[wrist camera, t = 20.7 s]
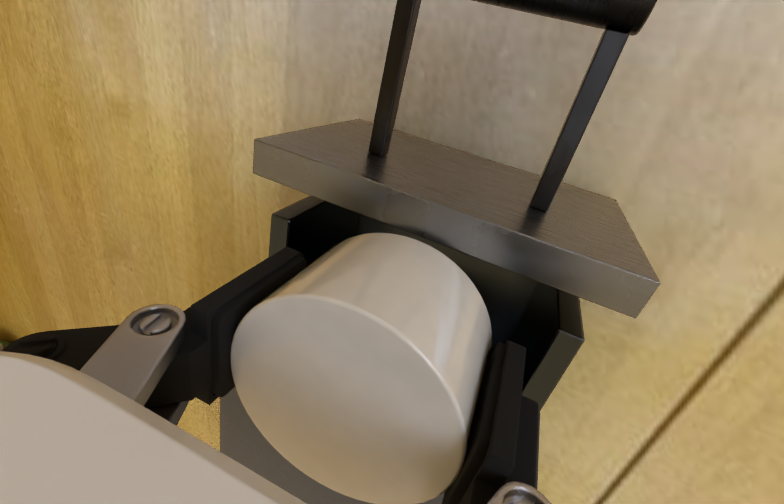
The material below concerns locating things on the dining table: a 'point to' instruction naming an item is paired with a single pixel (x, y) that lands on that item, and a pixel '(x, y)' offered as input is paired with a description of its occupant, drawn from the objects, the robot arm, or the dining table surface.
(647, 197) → the dining table surface
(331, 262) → the white cylindrical puck
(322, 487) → the cabinet
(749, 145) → the dining table surface
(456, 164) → the drawer
